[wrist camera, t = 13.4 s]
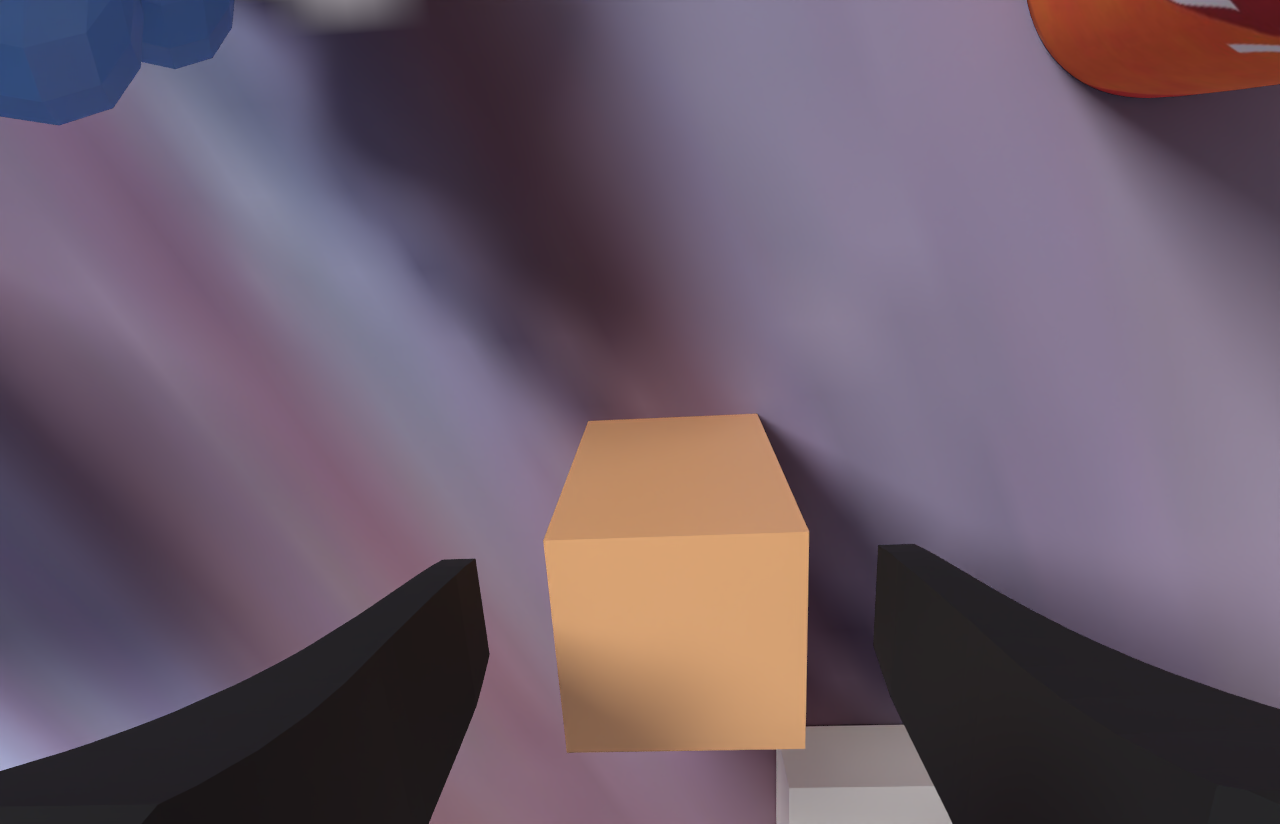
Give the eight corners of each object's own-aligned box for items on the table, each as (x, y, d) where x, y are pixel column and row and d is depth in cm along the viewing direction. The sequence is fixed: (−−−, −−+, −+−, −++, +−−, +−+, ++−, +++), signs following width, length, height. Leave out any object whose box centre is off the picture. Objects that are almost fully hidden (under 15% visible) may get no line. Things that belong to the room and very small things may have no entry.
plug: (758, 564, 17) (805, 749, 11) (600, 569, 17) (566, 752, 11) (757, 413, 16) (809, 532, 10) (588, 420, 16) (543, 540, 10)
